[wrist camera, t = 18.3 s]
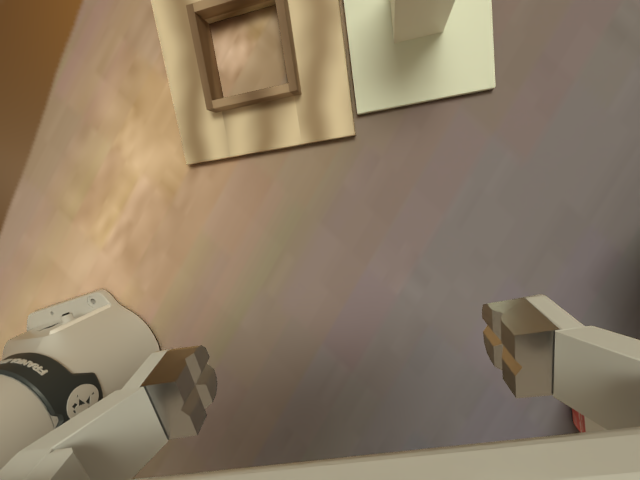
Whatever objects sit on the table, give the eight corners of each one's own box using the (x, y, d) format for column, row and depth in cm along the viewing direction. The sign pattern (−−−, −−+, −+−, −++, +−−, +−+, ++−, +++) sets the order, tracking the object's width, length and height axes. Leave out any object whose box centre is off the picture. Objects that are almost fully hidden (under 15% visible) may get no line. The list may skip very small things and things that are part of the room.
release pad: (358, 115, 34) (357, 113, 34) (337, -59, 32) (335, -64, 31) (492, 89, 31) (495, 87, 31) (483, -105, 29) (486, -113, 28)
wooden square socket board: (191, 164, 40) (176, 164, 37) (151, -21, 36) (132, -36, 33) (355, 135, 35) (352, 132, 32) (329, -81, 31) (323, -104, 29)
